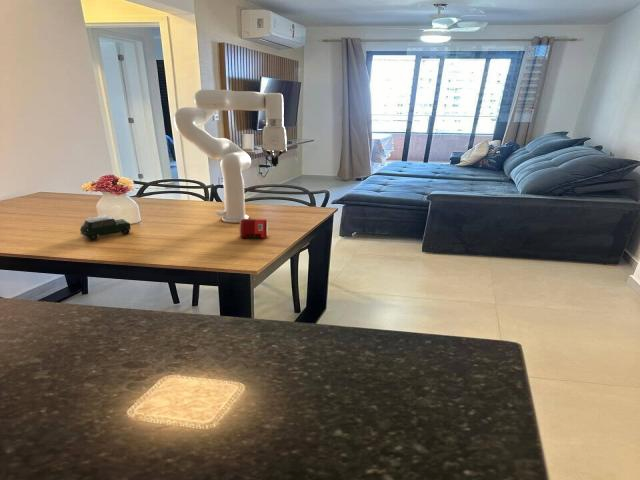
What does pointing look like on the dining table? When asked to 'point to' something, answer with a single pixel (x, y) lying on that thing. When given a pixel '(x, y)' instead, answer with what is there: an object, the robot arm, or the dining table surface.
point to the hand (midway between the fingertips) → (274, 165)
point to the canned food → (253, 228)
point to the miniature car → (103, 227)
